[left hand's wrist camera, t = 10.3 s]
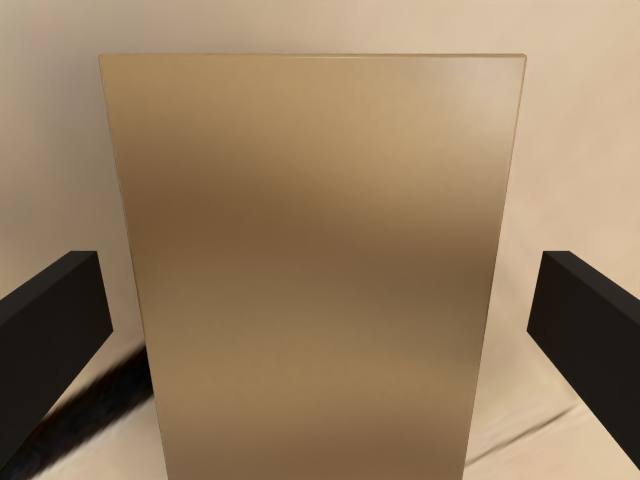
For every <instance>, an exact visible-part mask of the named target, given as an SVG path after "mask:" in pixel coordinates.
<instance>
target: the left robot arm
mask: <svg viewBox="0 0 640 480" xmlns="http://www.w3.org/2000/svg"><path fill="white" fill-rule="evenodd" d="M112 332H113V326H112V322H111V317H110V312H109V307H108V302H107V298H106V293H105V288H104V283H103V278H102V274H101V269H100V264H99V259H98V254H97V251H70V252H69V253H67V254H66V255H64V256H63V257H61V258H60V259H59V260H57V261H56V262H54V263H53V264H51V265H50V266H48V267H47V268H46V269H44V270H43V271H41V272H40V273H38V274H37V275H36V276H34V277H33V278H31V279H30V280H28V281H27V282H26V283H24V284H23V285H21V286H20V287H18V288H17V289H16V290H14V291H13V292H11V293H10V294H8V295H7V296H6V297H4V298H3V299H1V300H0V470H1V469H2V468H3V467H4V465H5V464H6V463H7V462H8V460H9V459H10V458H11V457H12V455H13V454H14V453H15V452H16V451H17V449H18V448H19V447H20V446H21V444H22V443H23V442H24V441H25V439H26V438H27V437H28V436H29V434H30V433H31V432H32V431H33V430H34V428H35V427H36V426H37V425H38V423H39V422H40V421H41V420H42V418H43V417H44V416H45V415H46V414H47V412H48V411H49V410H50V409H51V407H52V406H53V405H54V404H55V402H56V401H57V400H58V399H59V398H60V396H61V395H62V394H63V393H64V391H65V390H66V389H67V388H68V386H69V385H70V384H71V383H72V382H73V380H74V379H75V378H76V377H77V375H78V374H79V373H80V372H81V370H82V369H83V368H84V367H85V365H86V364H87V363H88V362H89V361H90V359H91V358H92V357H93V356H94V354H95V353H96V352H97V351H98V349H99V348H100V347H101V346H102V345H103V343H104V342H105V341H106V340H107V338H108V337H109V336H110V335H111V333H112ZM527 332H528V333H529V335H530V336H531V337H532V338H533V340H534V341H535V342H536V343H537V345H538V346H539V347H540V348H541V349H542V351H543V352H544V353H545V354H546V356H547V357H548V358H549V359H550V361H551V362H552V363H553V364H554V365H555V367H556V368H557V369H558V370H559V372H560V373H561V374H562V375H563V377H564V378H565V379H566V380H567V382H568V383H569V384H570V385H571V386H572V388H573V389H574V390H575V391H576V393H577V394H578V395H579V396H580V398H581V399H582V400H583V401H584V402H585V404H586V405H587V406H588V407H589V409H590V410H591V411H592V412H593V414H594V415H595V416H596V417H597V418H598V420H599V421H600V422H601V423H602V425H603V426H604V427H605V428H606V430H607V431H608V432H609V433H610V434H611V436H612V437H613V438H614V439H615V441H616V442H617V443H618V444H619V446H620V447H621V448H622V449H623V451H624V452H625V453H626V454H627V455H628V457H629V458H630V459H631V460H632V462H633V463H634V464H635V465H636V467H637V468H638V469H639V470H640V300H639V299H637V298H636V297H634V296H633V295H632V294H630V293H629V292H627V291H626V290H624V289H623V288H622V287H620V286H619V285H617V284H616V283H614V282H613V281H612V280H610V279H609V278H607V277H606V276H604V275H603V274H602V273H600V272H599V271H597V270H596V269H594V268H593V267H592V266H590V265H589V264H587V263H586V262H584V261H583V260H581V259H580V258H579V257H577V256H576V255H574V254H573V253H571V252H570V251H543V254H542V259H541V264H540V269H539V274H538V278H537V283H536V288H535V293H534V298H533V302H532V307H531V312H530V317H529V322H528V326H527Z"/></svg>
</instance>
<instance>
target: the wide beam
mask: <svg viewBox="0 0 640 480" xmlns="http://www.w3.org/2000/svg"><path fill="white" fill-rule="evenodd" d="M98 59H99V65H100V71H101V77H102V83H103V89H104V95H105V101H106V107H107V113H108V119H109V125H110V131H111V137H112V143H113V149H114V155H115V161H116V167H117V173H118V179H119V185H120V191H121V197H122V203H123V209H124V216H125V222H126V228H127V234H128V240H129V246H130V252H131V258H132V264H133V270H134V276H135V282H136V288H137V294H138V300H139V306H140V312H141V318H142V324H143V330H144V336H145V342H146V348H147V354H148V360H149V366H150V372H151V378H152V384H153V390H154V396H155V402H156V408H157V414H158V420H159V426H160V432H161V438H162V444H163V450H164V456H165V462H166V468H167V474H168V480H462V477H463V471H464V464H465V458H466V451H467V445H468V438H469V432H470V425H471V419H472V412H473V406H474V399H475V393H476V386H477V380H478V373H479V366H480V360H481V353H482V347H483V340H484V334H485V327H486V321H487V314H488V308H489V301H490V295H491V288H492V282H493V275H494V269H495V262H496V256H497V249H498V243H499V236H500V230H501V223H502V217H503V210H504V204H505V197H506V191H507V184H508V178H509V171H510V165H511V158H512V152H513V145H514V139H515V132H516V126H517V119H518V113H519V106H520V100H521V93H522V87H523V80H524V74H525V67H526V61H527V56H526V55H525V54H101V55H99V58H98Z"/></svg>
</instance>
